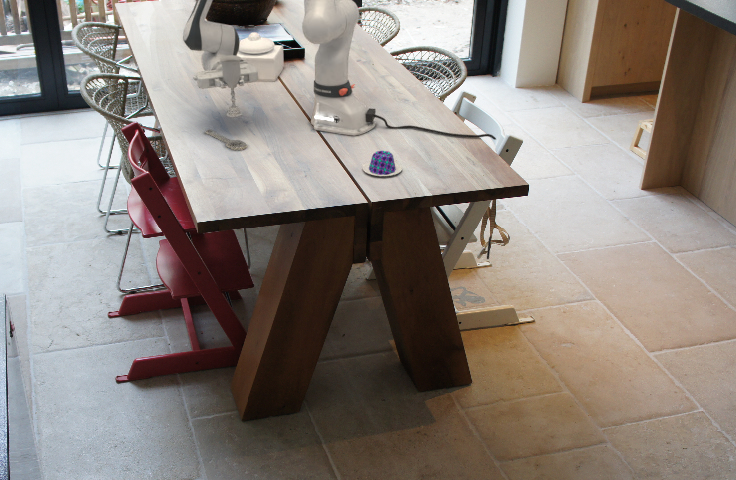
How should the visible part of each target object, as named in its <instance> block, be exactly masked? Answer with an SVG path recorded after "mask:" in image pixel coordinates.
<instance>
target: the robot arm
mask: <svg viewBox="0 0 736 480" xmlns="http://www.w3.org/2000/svg"><path fill="white" fill-rule="evenodd" d="M212 3H213V0H196V1H195V4H194V6H193V9H192V11H191V14H190V16H189V18H188V20H187V22H186V24H185V25H184V29H183V33H182V40H183V42H184V44H185V45H186V47H187V48H188V49H189V50H190V51H197V52H202V54H201V58H200V59H201V66H202V69H203V71H198V72H197V73H196V75H193V77H192V78H193V80H194V81H196V83H197V88H198V89H200V90H201V89H202V90H204V89H213V88H220V89H226V88H227V87H228V86H227V84H226V82H225V80H224V78H223V75H222V63H221V61H220V58H221V57H224V56H229V55H235V56H237V53H238V50H239V44H240V41H241V40H240V36H239V33H238V30H237V28H235V27H234V25H229V24H225V23H220V22H214V21H210V20H206V17H207V16H208V13H209V10H210V8H211V6H212ZM303 7H304V16H303V21H302V23H301V31H302V34H303V35H304V38H305V39H306V40H307V42H309V43H311V44H313V45H318V49H317V51H316V53H315V55H314V80H313V94H314V101H313V108H312V115H311V119H310V124H311V125H312V126H313V130H314V131H319V132H326V133H332V134H340V135H345V136H346V135H347V136H351V137H352V136H354V137H355V136H359V135H363V134H366V133H367V132H369V131H372V130H373V129H374V128H375V126H376V125H377V124H376V121H375V118H377V119H379V120H382V121H383V123H384V125H385V126H386V128H388V129H393V130H400V129H402V130H403V129H415V130H419V131H423V132H429V133H434V134H439V135H444V136H449V137H458V138H475V139H476V138H484V137H487V138H491V139H492V140H493V141H494V140H497V137H495V136H494V135H493V134H490V133H483V134H463V133H462V134H461V133H452V132H446V131H440V130H435V129H431V128H427V127H423V126H416V125H401V126H400V125H399V126H392V125H389V123H388V121H387V119H386V118H384V117H383V116H381V115H378V114H376V113H377V111H376V108H371V107H370V108H368V107H367V105H366V104H365V103H364V102H363V101H362V100H360V98H358V96H356V95H355V93H354V92H353V89H354V88H355V85H356V84H354V83H353V84H351V82H350V80H349V57H350V50H351V45H352V41H353V36H354V32H355V28H356V27H357V24H358V22H359V19H360V10H359V7H358V5H357V3H356V2H355V1H354V0H303ZM240 73H241V74H240V78H239V81H238V84H237V86H239V87H243V86H245V84H251V83H257V82H259V81H258V71H257V69H256V68H255V67H254V66H252V65H251V64H248V62H247V60H240ZM492 237H493V235H490V236H489V237H488V243H487V251H486V254H487V255H486V260H490V253H491V244H492Z"/></svg>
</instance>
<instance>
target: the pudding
mask: <svg viewBox="0 0 736 480" xmlns="http://www.w3.org/2000/svg"><path fill="white" fill-rule="evenodd" d="M362 170H363V172H365V173H366V174H368V175H372V176H377V177H389V176H395V175H397V174H399V173H401V172H402V170H403V166H402V165H401V164H400V163H399V162H396V161H395V159H394V155H393V153H392V152H390V151H388V150H377V151H375V152H374V153H373V154H372V155H371V160H370V161H367V162H366V163H364V164H363V165H362Z"/></svg>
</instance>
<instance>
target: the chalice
mask: <svg viewBox="0 0 736 480" xmlns="http://www.w3.org/2000/svg"><path fill="white" fill-rule="evenodd" d="M240 60H241V57H239V56H235V55H229V56H224V57H221V58H220V61H221V63H222V75H223V78H224V80H225V82H226V84H227V86H226V87H227V88H229V89H230V96H231V99H230V101H231V106H229V108H228V109H227V113H226V116H227V117H230V118H236V117H240V116H243V113H242V110H241V109H240V107H239V106H238V105H236V101H237V99H236V97H235V95H236V92H235V88H237V87H238V81H239V78H240V74H241V73H240Z"/></svg>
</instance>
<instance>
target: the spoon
mask: <svg viewBox="0 0 736 480" xmlns="http://www.w3.org/2000/svg"><path fill="white" fill-rule="evenodd" d="M205 135H209V136H211V137H213V138H215V139H217V140H219V141H220V142H223V143H225V145H226V147H227V148H228V149H230V150H233V151H242V150H245V149H246V148H247V143H246V142H245V141H242V140H241V139H229V138H228V137H225V136H223V135H221V134H219V133H218V132H215V131H214V130H212V129H206V130H205Z"/></svg>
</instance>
